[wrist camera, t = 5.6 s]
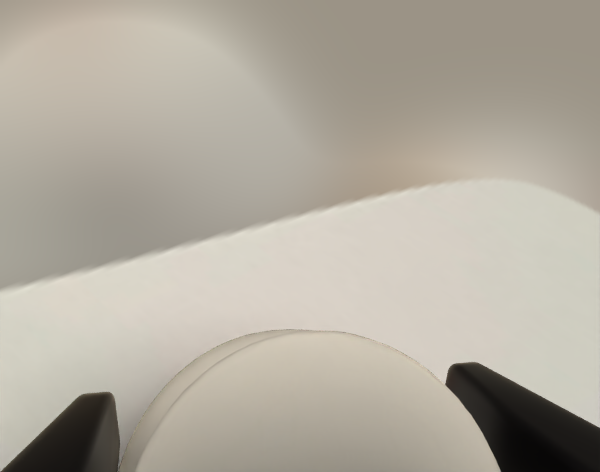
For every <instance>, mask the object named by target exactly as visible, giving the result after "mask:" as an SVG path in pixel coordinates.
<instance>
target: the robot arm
mask: <svg viewBox="0 0 600 472" xmlns="http://www.w3.org/2000/svg"><path fill="white" fill-rule="evenodd" d="M445 385H446V386H447V387H448V388H449V389H450V390H451V392H452V393H453V394H454V395H455V396H456V397H457V398H458V399H459V400H460V401H461V403H462V404H463V406H464V407H465V408H466V410H467V411H468V412H469V413H470V414H471V416H472V417H473V419H474V420H475V422H476V424H477V425H478V427H479V428H480V430H481V432H482V433H483V435H484V437H485V439H486V441H487V443H488V445H489V447H490V449H491V451H492V453H493V455H494V457H495V459H496V461H497V464H498V466H499V468H500V471H501V472H600V428H599V427H597V426H595V425H593V424H591V423H590V422H588V421H586V420H584V419H582V418H580V417H578V416H576V415H575V414H573V413H571V412H569V411H567V410H565V409H563V408H562V407H560V406H558V405H556V404H554V403H552V402H550V401H548V400H547V399H545V398H543V397H541V396H539V395H537V394H535V393H534V392H532V391H530V390H528V389H526V388H524V387H522V386H520V385H519V384H517V383H515V382H513V381H511V380H509V379H507V378H506V377H504V376H502V375H500V374H498V373H496V372H494V371H492V370H491V369H489V368H487V367H485V366H483V365H481V364H479V363H476V362H468V363H456V364H453V365H452V366H450V368H449V370H448V373H447V379H446V384H445ZM119 451H120V438H119V429H118V421H117V413H116V405H115V399H114V396H113V394H112V393H110V392H100V393H87V394H82V395H81V396H79V397H78V398H77V399H76V400H75V401H73V402H72V403H71V404H70V405H69V406H68V407H67V408H66V409H65V410H64V411H63V412H62V413H61V414H60V415H59V416H58V417H57V418H56V419H55V420H54V421H53V422H52V423H51V424H50V425H49V426H48V427H47V428H45V429H44V430H43V431H42V432H41V433H40V434H39V435H38V436H37V437H36V438H35V439H34V440H33V441H32V442H31V443H30V444H29V445H28V446H27V447H26V448H25V449H24V450H23V451H22V452H21V453H20V454H19V455H17V456H16V457H15V458H14V459H13V460H12V461H11V462H10V463H9V464H8V465H7V466H6V467H5V468H4V469H3V470H2V471H1V472H117V470H118V461H119Z"/></svg>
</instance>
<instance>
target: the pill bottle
mask: <svg viewBox="0 0 600 472" xmlns="http://www.w3.org/2000/svg"><path fill="white" fill-rule="evenodd" d="M119 472H501V471H500V468H499V466H498V464H497V461H496V459H495V457H494V455H493V453H492V451H491V449H490V447H489V445H488V443H487V441H486V439H485V437H484V435H483V433H482V432H481V430H480V428H479V427H478V425H477V424H476V422H475V420H474V419H473V417H472V416H471V414H470V413H469V412H468V411H467V410H466V408H465V407H464V406H463V404H462V403H461V401H460V400H459V399H458V398H457V397H456V396H455V395H454V394H453V393H452V392H451V390H450V389H449V388H448V387H447V386H446V385H445V384H443V383H442V382H441V381H440V380H439V379H438V378H437V377H436V376H435V375H434V374H433V373H432V372H430V371H429V370H427V369H426V368H425V367H423V366H422V365H420V364H419V363H418V362H416V361H415V360H413V359H411V358H410V357H408V356H407V355H405V354H403V353H401V352H399V351H397V350H395V349H394V348H392V347H390V346H388V345H385V344H382V343H379V342H377V341H374V340H371V339H368V338H365V337H361V336H358V335H354V334H350V333H345V332H338V331H309V330H291V329H289V330H272V331H265V332H259V333H253V334H249V335H245V336H242V337H239V338H236V339H233V340H230V341H228V342H226V343H223V344H221V345H219V346H217V347H215V348H213V349H212V350H210V351H208V352H207V353H205V354H203V355H201V356H200V357H198V358H197V359H195V360H194V361H193V362H191V363H190V364H189V365H188V366H186V367H185V368H184V369H183V370H182V371H180V372H179V373H178V374H177V375H176V376H175V377H174V378H173V379H172V380H171V381H170V382H169V383H168V384H167V385H166V386H165V387H164V388H163V390H162V391H161V392H160V393H159V394H158V396H157V397H156V398H155V399H154V401H153V402H152V403H151V405H150V406H149V408H148V409H147V410H146V412H145V413H144V415H143V417H142V418H141V420H140V422H139V424H138V426H137V427H136V429H135V431H134V433H133V435H132V437H131V439H130V441H129V443H128V446H127V449H126V451H125V454H124V457H123V459H122V462H121V465H120V468H119Z"/></svg>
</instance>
